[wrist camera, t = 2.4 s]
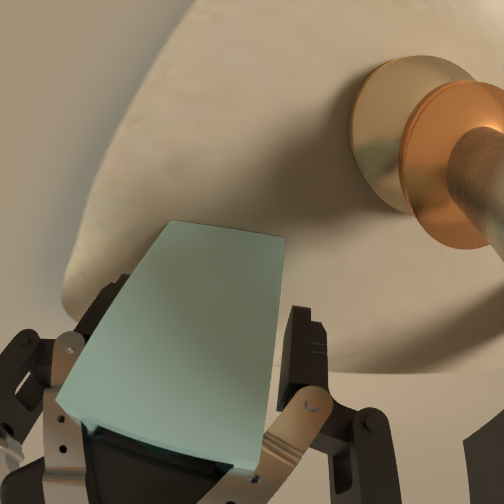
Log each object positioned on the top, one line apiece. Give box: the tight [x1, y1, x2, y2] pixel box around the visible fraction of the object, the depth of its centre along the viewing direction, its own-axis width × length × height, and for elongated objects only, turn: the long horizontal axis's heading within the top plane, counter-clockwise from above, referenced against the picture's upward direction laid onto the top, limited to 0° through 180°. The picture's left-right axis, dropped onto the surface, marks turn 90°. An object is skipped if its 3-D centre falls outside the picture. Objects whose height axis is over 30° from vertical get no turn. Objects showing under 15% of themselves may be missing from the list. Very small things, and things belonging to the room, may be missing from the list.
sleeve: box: [55, 220, 286, 480], centre depth 10 cm, size 5×5×9 cm
